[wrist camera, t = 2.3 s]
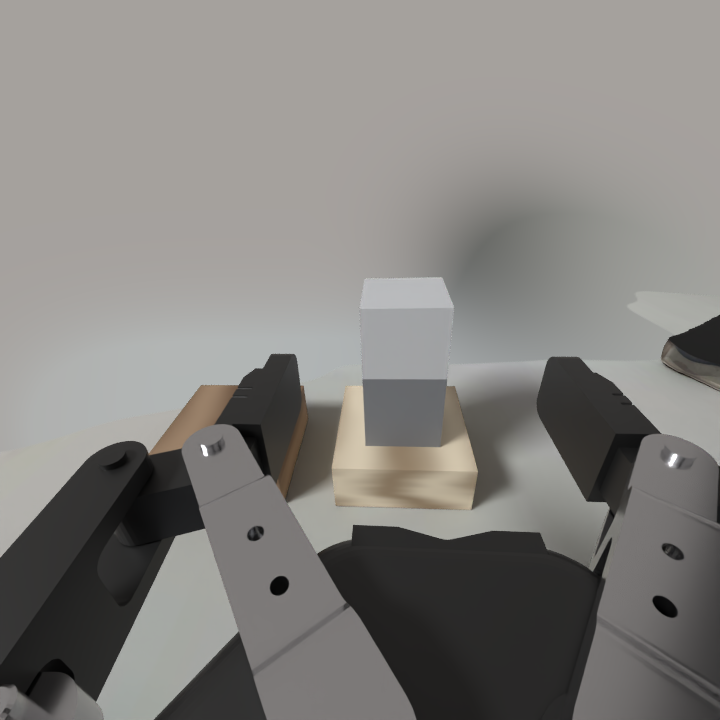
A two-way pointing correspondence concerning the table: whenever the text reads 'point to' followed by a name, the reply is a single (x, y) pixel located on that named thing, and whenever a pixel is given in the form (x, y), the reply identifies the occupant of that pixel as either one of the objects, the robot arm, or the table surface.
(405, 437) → the block
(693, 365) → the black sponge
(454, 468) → the birch stand
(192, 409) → the walnut stand
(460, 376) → the table surface
